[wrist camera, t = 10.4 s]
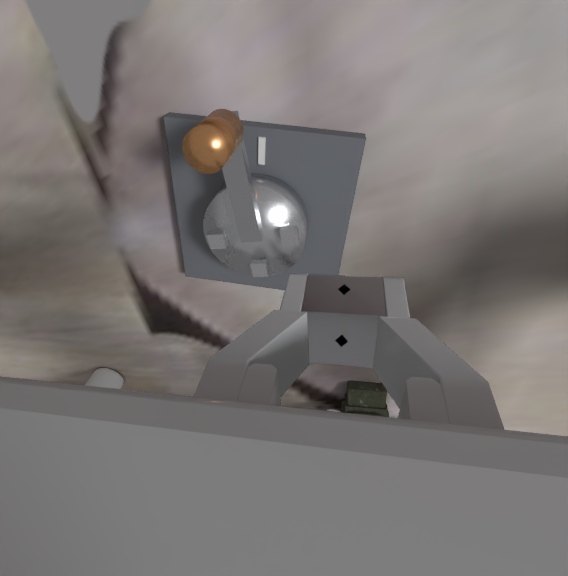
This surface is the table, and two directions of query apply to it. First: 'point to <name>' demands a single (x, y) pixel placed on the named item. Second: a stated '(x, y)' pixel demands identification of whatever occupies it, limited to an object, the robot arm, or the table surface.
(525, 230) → the table surface
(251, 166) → the housing plate
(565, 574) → the robot arm
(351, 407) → the mechanical leg
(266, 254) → the lever
